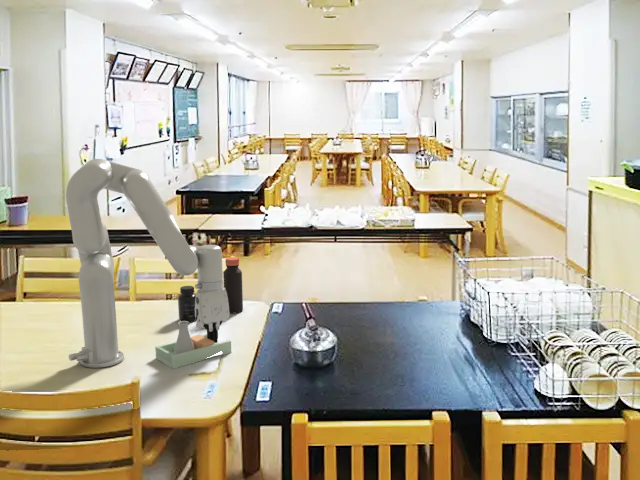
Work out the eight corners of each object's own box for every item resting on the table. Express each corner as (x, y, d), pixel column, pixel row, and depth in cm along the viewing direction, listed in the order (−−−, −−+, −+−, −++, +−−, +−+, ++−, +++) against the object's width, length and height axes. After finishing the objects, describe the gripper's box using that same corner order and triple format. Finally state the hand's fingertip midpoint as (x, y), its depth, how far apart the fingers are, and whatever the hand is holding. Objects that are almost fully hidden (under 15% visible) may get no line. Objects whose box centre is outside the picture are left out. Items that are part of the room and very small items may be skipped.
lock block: (203, 353, 207) (202, 344, 207) (188, 346, 213) (188, 337, 213) (214, 350, 210) (214, 341, 209) (200, 343, 216) (199, 334, 215)
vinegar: (246, 310, 256) (245, 257, 252) (235, 314, 251) (233, 261, 247) (232, 307, 260) (230, 255, 256) (220, 311, 254) (219, 259, 250)
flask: (199, 350, 211) (198, 319, 209) (193, 358, 204) (191, 326, 202) (176, 349, 212) (175, 318, 210) (169, 357, 205) (167, 326, 203)
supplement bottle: (176, 318, 247) (175, 286, 244) (195, 315, 250) (194, 283, 247) (181, 323, 241) (179, 290, 238) (200, 321, 243) (199, 288, 241)
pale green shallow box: (173, 368, 200) (173, 356, 199) (155, 358, 208) (155, 346, 207) (231, 352, 212) (231, 341, 212) (212, 343, 221) (211, 332, 220)
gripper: (195, 292, 203) (198, 350, 206) (237, 283, 212) (239, 339, 216) (182, 287, 208) (185, 344, 212) (224, 278, 218) (226, 333, 221)
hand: (212, 341), depth 214 cm, fingers closed
